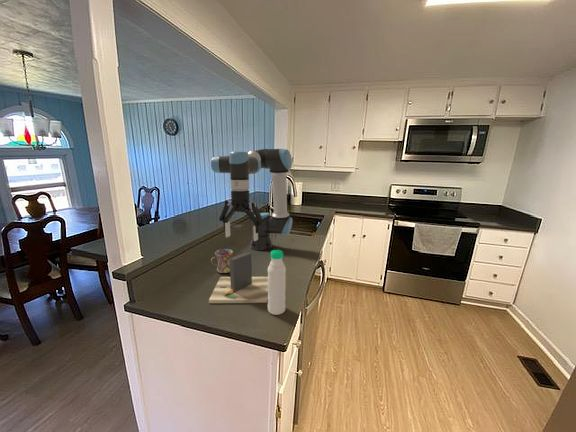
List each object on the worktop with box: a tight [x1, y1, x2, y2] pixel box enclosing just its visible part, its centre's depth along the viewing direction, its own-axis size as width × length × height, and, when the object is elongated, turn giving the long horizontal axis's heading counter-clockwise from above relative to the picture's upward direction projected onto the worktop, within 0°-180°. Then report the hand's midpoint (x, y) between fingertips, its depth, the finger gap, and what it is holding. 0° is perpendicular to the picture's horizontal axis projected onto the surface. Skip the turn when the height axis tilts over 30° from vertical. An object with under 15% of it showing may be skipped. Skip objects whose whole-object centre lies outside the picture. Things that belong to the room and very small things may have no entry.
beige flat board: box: [208, 276, 268, 304], centre depth 109 cm, size 20×24×2 cm
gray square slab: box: [224, 251, 253, 295], centre depth 105 cm, size 3×14×15 cm, turn 140°
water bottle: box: [267, 249, 287, 316], centre depth 92 cm, size 7×7×25 cm
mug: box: [210, 248, 234, 274], centre depth 126 cm, size 12×9×11 cm
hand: (241, 238), depth 104 cm, fingers open, 13 cm apart
